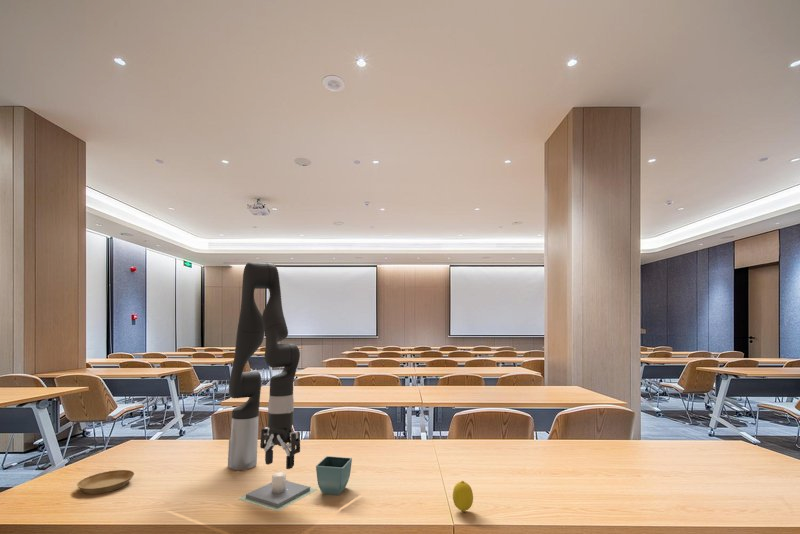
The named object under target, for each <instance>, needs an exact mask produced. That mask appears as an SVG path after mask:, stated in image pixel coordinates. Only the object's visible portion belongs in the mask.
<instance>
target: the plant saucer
mask: <svg viewBox="0 0 800 534" xmlns="http://www.w3.org/2000/svg"><path fill="white" fill-rule="evenodd" d="M134 476H135V472H134V471H133V470H128V469H117V470H108V471H103V472H99V473H96V474H93V475H90V476H87V477H85V478H83V479H81V480H80V481H78V483H77V484H76V486H77V488H78V489H79V490H80V491H82V492H83V493H85V494H89V493H91V495H92V494H94V495H95V494H96V495H97V493H98V494H102V493H107V492H112V491H115V490H118V489H120V488H122V487H124V486H125V485H127V484H128V483H129V482H130V481H131V479H132V478H133V477H134Z"/></svg>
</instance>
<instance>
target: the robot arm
mask: <svg viewBox="0 0 800 534" xmlns="http://www.w3.org/2000/svg"><path fill="white" fill-rule="evenodd" d="M241 286H242V287H241V289H242V290H241V303H240V309H239V310H240V311H239V317H238V323H237V330H236V337H235V338H236V339H235V340H236V341H235V349H234V356H233V357H234V358H233V361H232V362H233V363H232V366H231V371H230V377H229V382H228V394H229V397H230V398H232V399H245V398H248V399H247V400H246V401H245V402H244V403H242V404H241V405H238V406H236V407H234V408H233V409H232V412H231V427H230V428H231V430H230V438H229V439H228V452H227V453H228V454H227V455H228V457H227V467H229V468H228V469H230V470H231V471H245V470H250V469H252V468H255V467H256V466H257V465H258V464H257V463H258V446H259V445H258V444H259V443H258V441H259V440H258V439H259V417H260V416H259V415H260V413H259V412H260V405H261V404H260V403H261V402H260V401H261V393H262V392H261V391H262V376H261V373H260V372H259V371H258V370H257V371H256V370H253V371H251V370H250V371H244V369H245V366H246V365H247V363H248V362H249V360H250V359H251V358H252V356H253V355H254V354H255V353H256V352H257V351H258V350H259V348H260V347H261V345H263V344H262V343H263V341H264V336H265V349H264V361H265V364H266V365H267V366H268V367H269V368H272V369H273V368H274V369H275V368H283V369H282V371H281V372H280V373H278V374H275V375H273V376H272V377H271V378H270V381H269V398H268V406H267V407H268V408H267V410H268V411H267V427H263V428H261V432H260V433H261V434H260V449H263V450H264V453H265V454H264V455H265V456H264V458H265V459H264V460H265V461H264V462H265V464H266V465H268V466H269V465H271V464H273V463H274V450H273V449H274V447H275V446H279V447H281V448H282V449H283V450H284V451H285V453H286V458H285V459H286V461H285V462H286V464H285V468H286V469H287V470H292V469H293V467H294V465H295V455H296V454H299V453H301V433H300V431H293V430H292V427H293V425H294V414H295V413H294V410H295V409H294V406H295V404H294V402H295V401H294V380H295V376H296V373H297V369H298V365H299V363H300V356H301V352H300V349H299V347H298V345H297V344H294V343H280V344H278V343H279V342H281V341H284V340H286V338H288V335H289V330H288V327H287V323H286V318H285V316H284V315H285V314H284V312H283V311H284V310H283V303H282V292H281V282H280V274H279V270H278V267H277V266H276V264H275V263H272V262H260V261H259V262H255V261H254V262H253V261H250V262H247V263H246V265H245V266H244V269H243V273H242V285H241ZM255 289H257V290H258V289H259V290H260V289H262V290H263V289H264V290H266V289H267V290H268V292H269V296H268V300H267V303H266V305H265V307H264V309H263V312H262V313H261V311H260V309H259V307H258V306H257V303H256V300H255Z"/></svg>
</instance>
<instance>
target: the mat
mask: <svg viewBox="0 0 800 534" xmlns="http://www.w3.org/2000/svg"><path fill="white" fill-rule="evenodd" d="M317 490H318V489H317V488H313V487H310V491H308V492H306V493H304V494H302V495H300V496H299V497H297V498H295V499H293V500H291V501H290V502H288V503H286V504H284V505H282V506H280V507H279V508H277V507H274V506H270V505H267V504H264V503H261V502H257V501H254V500H251V499H248V498H246V494H245V495H243V496H241V497H239V498H238V500H239V501H242V502H246V503H250V504H253V505H256V506H259V507H262V508H265V509H269V510H272V511H275V512H280V511H281V510H283V509H285V508H287V507H288V506H290V505H292V504H294V503H295V502H297V501H299V500H301V499H303V498H305V497H307V496H308V495H311V493H313V492H316V491H317Z"/></svg>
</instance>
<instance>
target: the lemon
mask: <svg viewBox="0 0 800 534" xmlns="http://www.w3.org/2000/svg"><path fill="white" fill-rule="evenodd" d="M452 500H453V501H452V502H453V505H454V506H455V507H456V508H457V510H459V511H461V512H462V513H465V512H466V511H467V510H470V508H471V507H472V506H473V503H474V494H473V490H472V487H471V485H470V484H468V483H467V482H466V481H464V480H461V481H459V482H457V483H456V484H455V485H454V487H453V491H452Z"/></svg>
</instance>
